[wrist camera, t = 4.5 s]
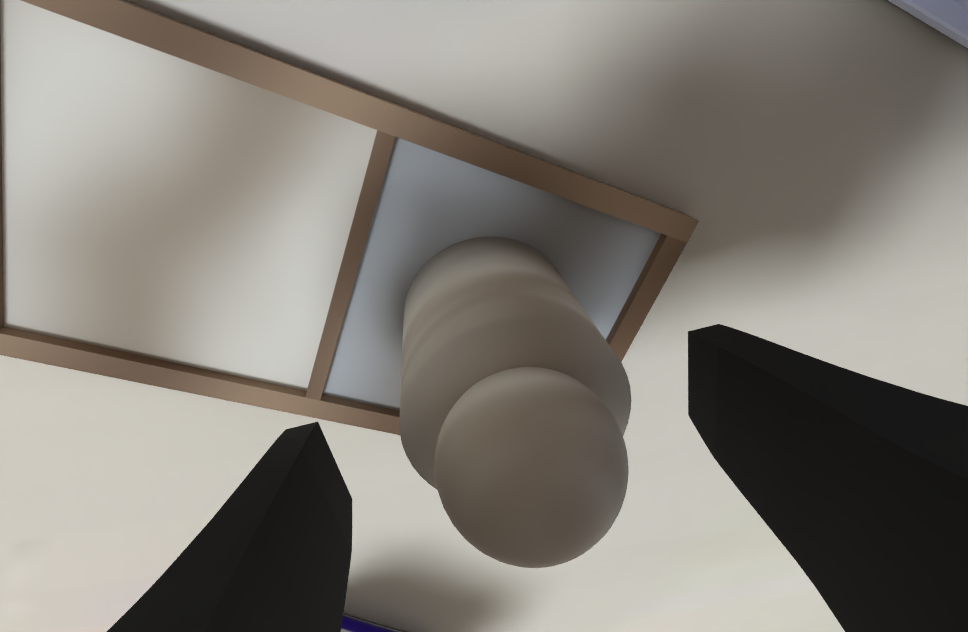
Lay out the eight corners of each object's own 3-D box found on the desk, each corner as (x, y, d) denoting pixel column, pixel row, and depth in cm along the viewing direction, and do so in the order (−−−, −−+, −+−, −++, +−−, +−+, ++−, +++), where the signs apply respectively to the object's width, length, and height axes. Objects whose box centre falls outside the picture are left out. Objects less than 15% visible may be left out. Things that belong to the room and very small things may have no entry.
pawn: (595, 268, 13) (763, 455, 7) (528, 400, 15) (614, 652, 9) (436, 212, 12) (461, 375, 6) (382, 362, 14) (355, 621, 7)
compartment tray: (689, 215, 13) (698, 220, 13) (558, 456, 16) (563, 467, 16) (-688, -310, 7) (-761, -336, 7) (-467, 245, 10) (-507, 253, 10)
